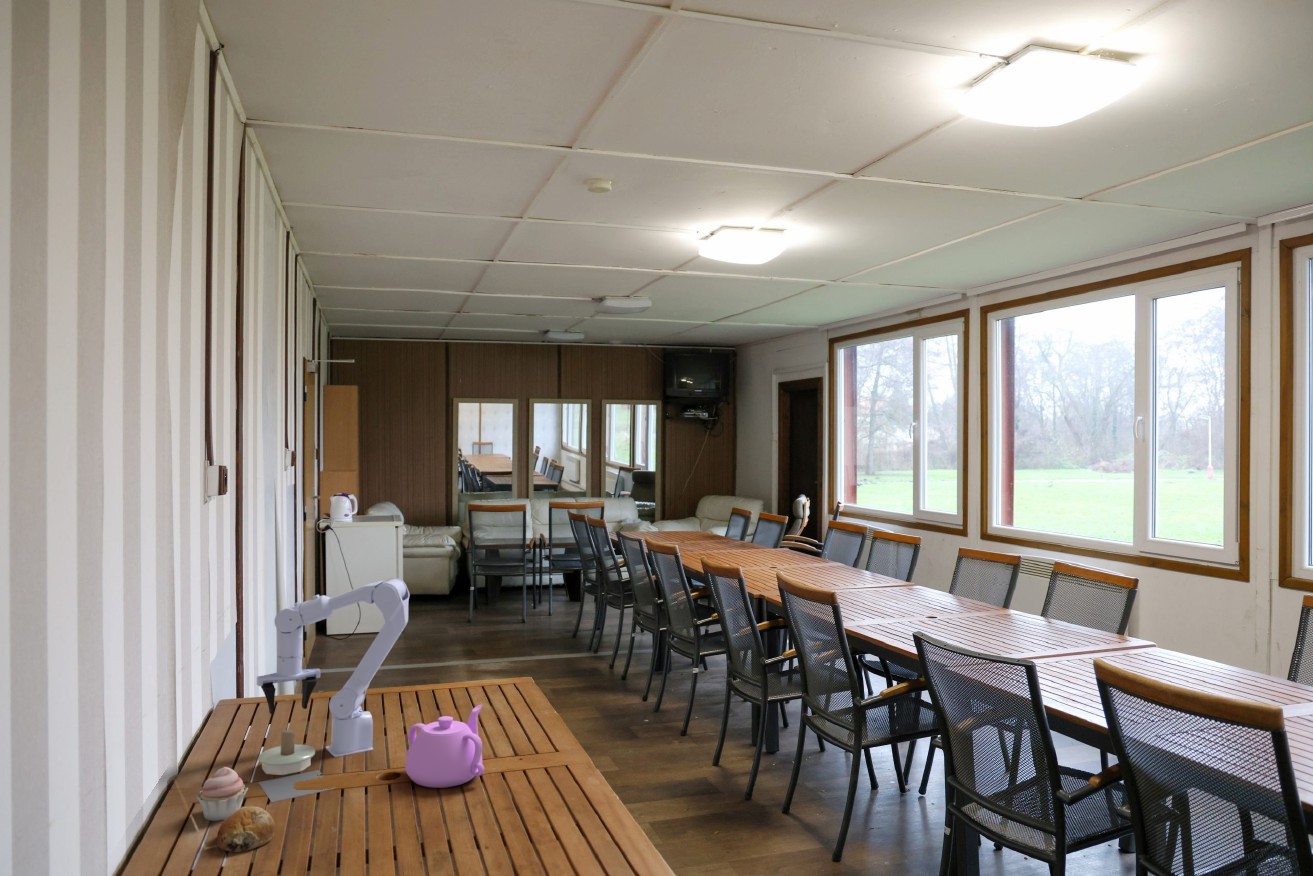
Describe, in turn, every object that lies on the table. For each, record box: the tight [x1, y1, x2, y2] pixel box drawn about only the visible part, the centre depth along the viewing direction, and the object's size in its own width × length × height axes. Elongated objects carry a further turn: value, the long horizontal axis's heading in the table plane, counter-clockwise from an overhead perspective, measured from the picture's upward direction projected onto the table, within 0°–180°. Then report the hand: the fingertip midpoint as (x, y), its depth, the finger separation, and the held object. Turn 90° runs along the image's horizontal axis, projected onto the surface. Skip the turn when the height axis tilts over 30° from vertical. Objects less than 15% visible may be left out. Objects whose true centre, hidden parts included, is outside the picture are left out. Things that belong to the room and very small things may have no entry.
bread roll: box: [216, 806, 276, 853], centre depth 162 cm, size 10×10×8 cm
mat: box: [257, 769, 336, 803], centre depth 187 cm, size 13×13×1 cm
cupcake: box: [196, 766, 249, 822], centre depth 172 cm, size 9×9×10 cm
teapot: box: [405, 704, 485, 789], centre depth 197 cm, size 22×22×14 cm
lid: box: [258, 729, 316, 765], centre depth 198 cm, size 12×12×6 cm
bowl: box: [261, 758, 312, 776], centre depth 198 cm, size 10×10×3 cm
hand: (288, 710), depth 210 cm, fingers open, 7 cm apart
